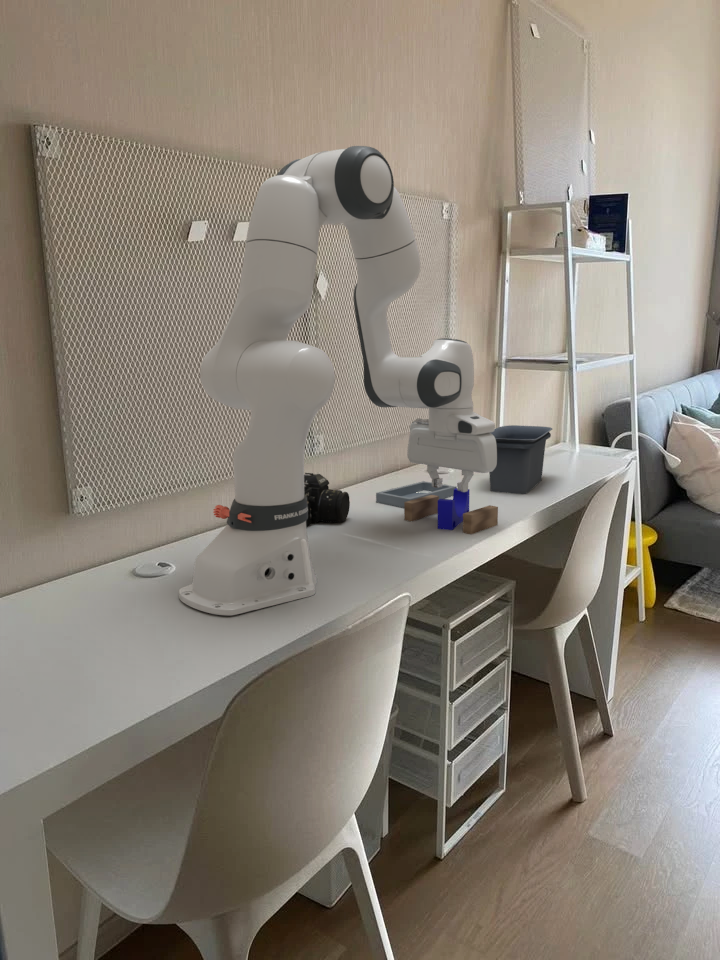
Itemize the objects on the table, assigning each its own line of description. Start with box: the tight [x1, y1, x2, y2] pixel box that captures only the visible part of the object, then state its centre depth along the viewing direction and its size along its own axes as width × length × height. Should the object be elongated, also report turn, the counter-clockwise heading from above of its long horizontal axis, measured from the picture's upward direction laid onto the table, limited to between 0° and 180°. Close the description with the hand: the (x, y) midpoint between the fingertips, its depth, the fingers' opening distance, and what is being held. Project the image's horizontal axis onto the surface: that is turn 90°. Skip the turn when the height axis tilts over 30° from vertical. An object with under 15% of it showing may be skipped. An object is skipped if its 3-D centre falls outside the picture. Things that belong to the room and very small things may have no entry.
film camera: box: [304, 472, 351, 527], centre depth 157 cm, size 18×12×10 cm
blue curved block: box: [437, 487, 470, 531], centre depth 154 cm, size 12×4×6 cm, turn 156°
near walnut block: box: [462, 504, 499, 535], centre depth 149 cm, size 9×2×4 cm, turn 136°
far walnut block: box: [403, 495, 439, 522], centre depth 159 cm, size 9×2×4 cm, turn 136°
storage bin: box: [488, 424, 553, 495], centre depth 184 cm, size 21×16×14 cm
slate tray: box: [375, 480, 458, 509], centre depth 174 cm, size 17×10×2 cm, turn 136°
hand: (449, 489), depth 153 cm, fingers open, 5 cm apart
